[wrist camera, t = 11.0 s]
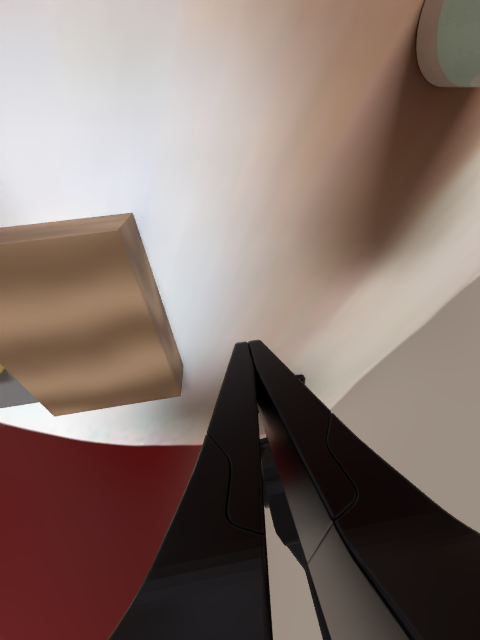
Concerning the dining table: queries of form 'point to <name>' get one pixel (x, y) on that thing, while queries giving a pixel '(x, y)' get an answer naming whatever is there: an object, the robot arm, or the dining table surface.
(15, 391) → the mat
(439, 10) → the coffee cup
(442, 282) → the dining table surface
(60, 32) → the dining table surface
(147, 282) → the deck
